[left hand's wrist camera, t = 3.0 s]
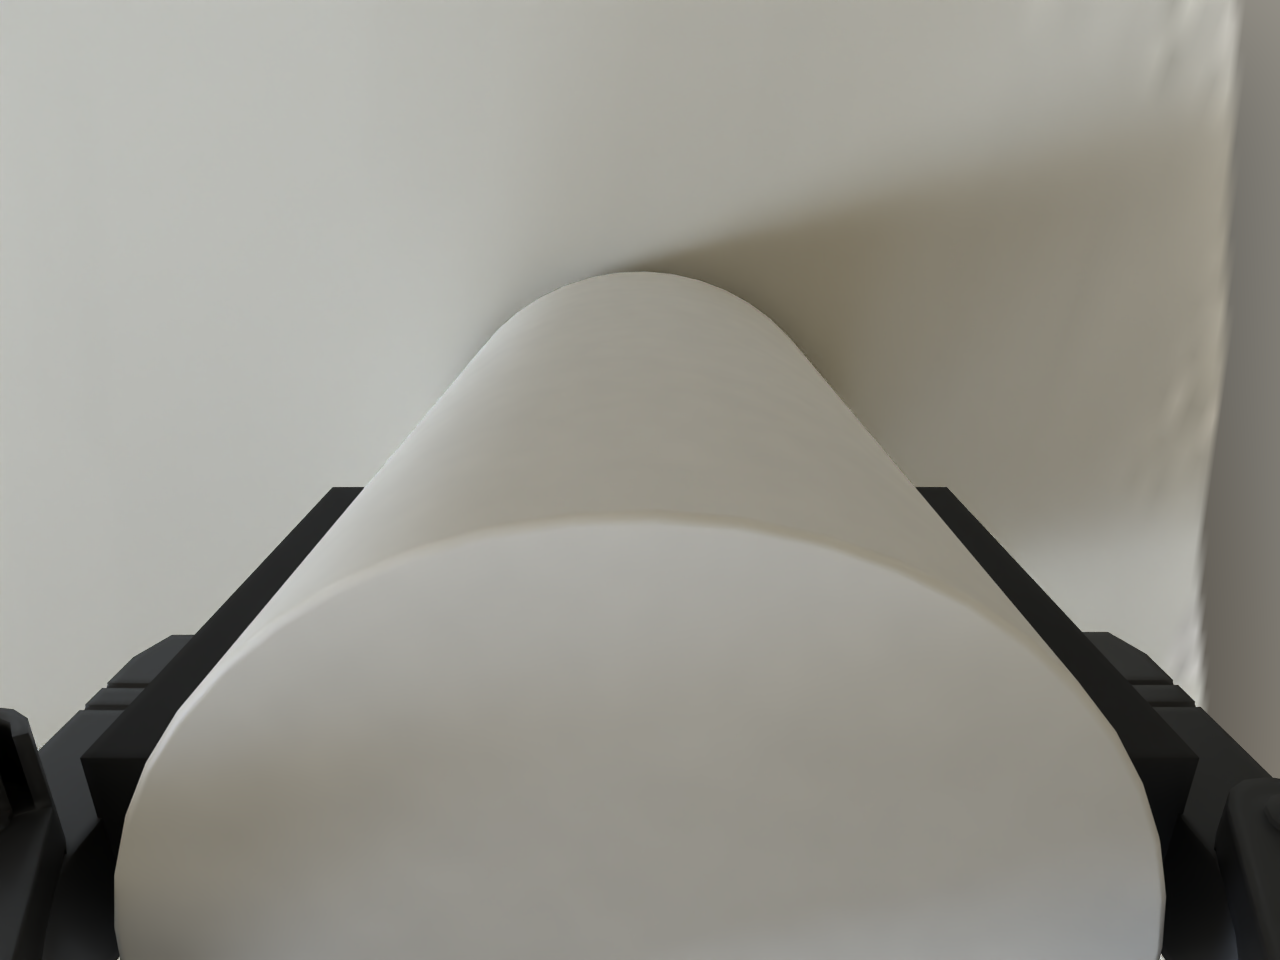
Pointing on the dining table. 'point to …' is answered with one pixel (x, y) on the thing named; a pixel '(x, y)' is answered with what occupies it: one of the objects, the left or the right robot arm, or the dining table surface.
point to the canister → (639, 693)
